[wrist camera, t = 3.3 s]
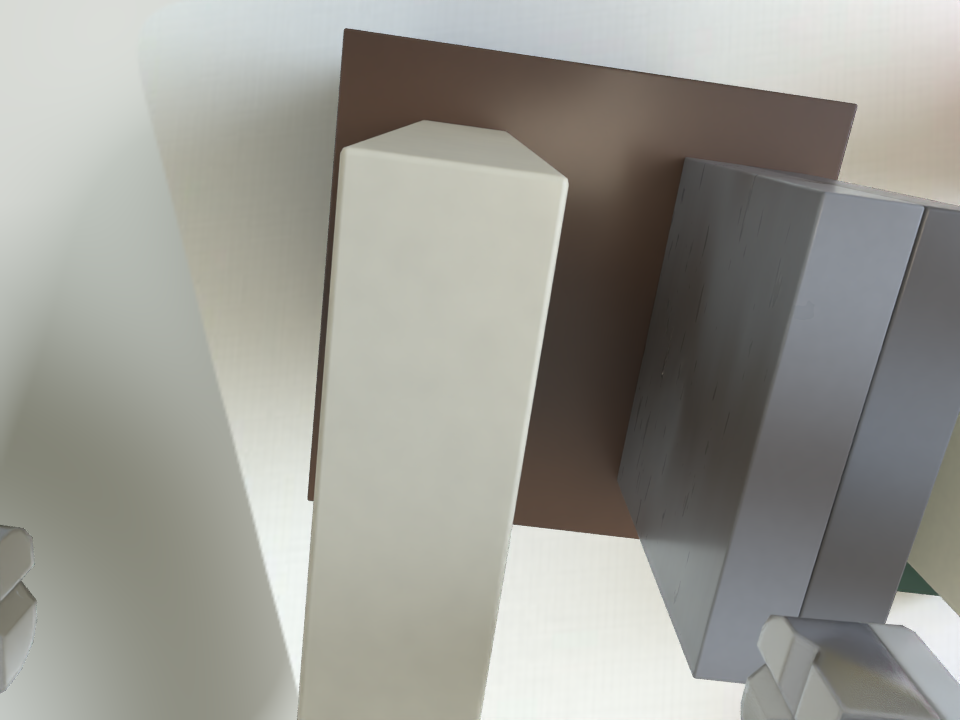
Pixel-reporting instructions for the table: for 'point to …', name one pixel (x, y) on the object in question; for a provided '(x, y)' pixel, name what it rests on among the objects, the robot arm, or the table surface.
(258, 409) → the table surface
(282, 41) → the table surface
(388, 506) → the cream book
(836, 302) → the walnut stand
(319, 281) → the table surface
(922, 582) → the book tray
